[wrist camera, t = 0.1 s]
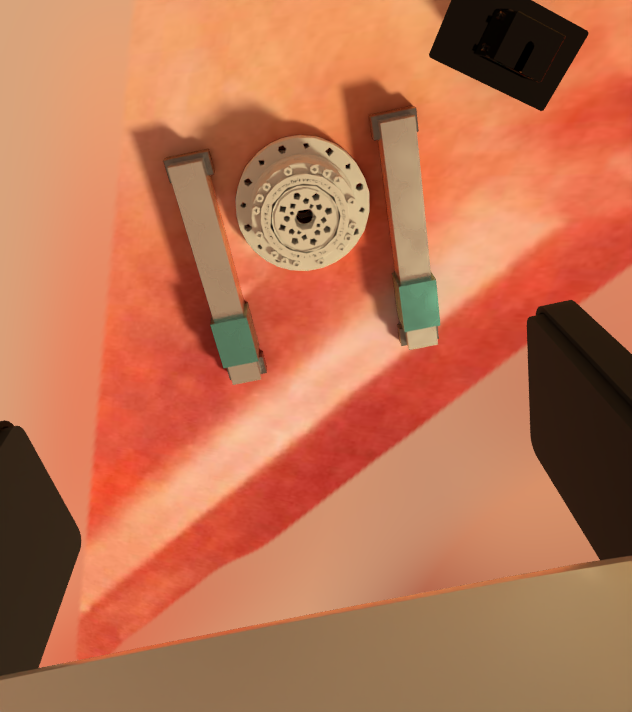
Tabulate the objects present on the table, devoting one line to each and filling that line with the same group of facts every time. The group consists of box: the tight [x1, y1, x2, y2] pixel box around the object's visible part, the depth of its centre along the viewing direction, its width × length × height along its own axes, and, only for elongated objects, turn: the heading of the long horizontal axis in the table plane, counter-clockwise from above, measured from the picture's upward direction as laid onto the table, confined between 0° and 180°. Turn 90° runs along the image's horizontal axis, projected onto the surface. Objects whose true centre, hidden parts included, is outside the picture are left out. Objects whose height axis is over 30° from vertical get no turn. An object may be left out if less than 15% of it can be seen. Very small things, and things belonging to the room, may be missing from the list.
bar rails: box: [164, 106, 440, 385], centre depth 47 cm, size 19×18×3 cm
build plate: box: [429, 0, 588, 111], centre depth 40 cm, size 12×7×5 cm, turn 67°
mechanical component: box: [235, 135, 369, 271], centre depth 44 cm, size 10×4×10 cm
